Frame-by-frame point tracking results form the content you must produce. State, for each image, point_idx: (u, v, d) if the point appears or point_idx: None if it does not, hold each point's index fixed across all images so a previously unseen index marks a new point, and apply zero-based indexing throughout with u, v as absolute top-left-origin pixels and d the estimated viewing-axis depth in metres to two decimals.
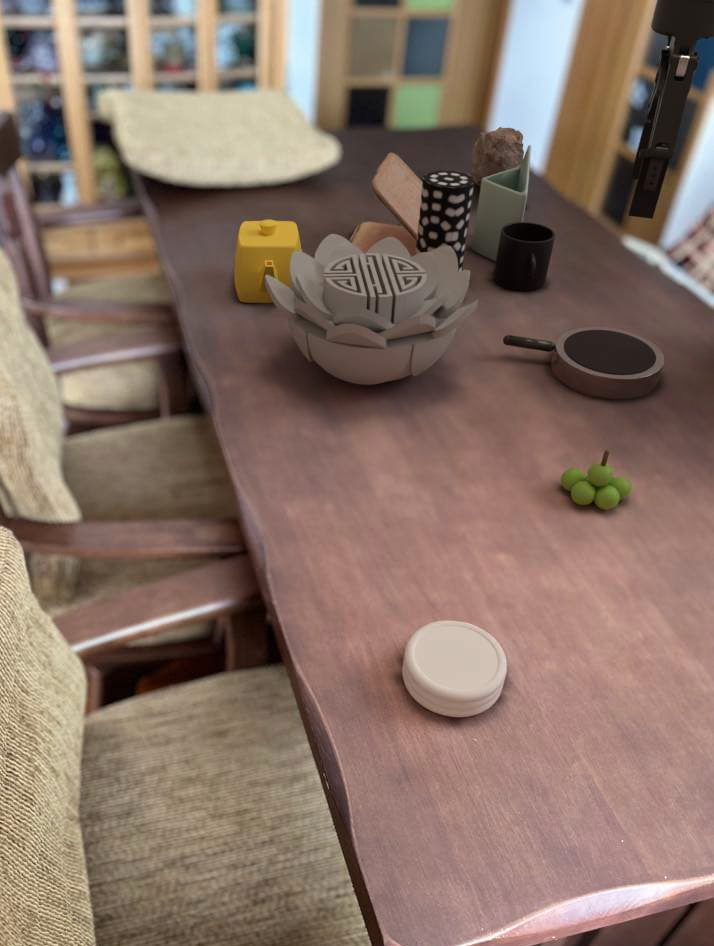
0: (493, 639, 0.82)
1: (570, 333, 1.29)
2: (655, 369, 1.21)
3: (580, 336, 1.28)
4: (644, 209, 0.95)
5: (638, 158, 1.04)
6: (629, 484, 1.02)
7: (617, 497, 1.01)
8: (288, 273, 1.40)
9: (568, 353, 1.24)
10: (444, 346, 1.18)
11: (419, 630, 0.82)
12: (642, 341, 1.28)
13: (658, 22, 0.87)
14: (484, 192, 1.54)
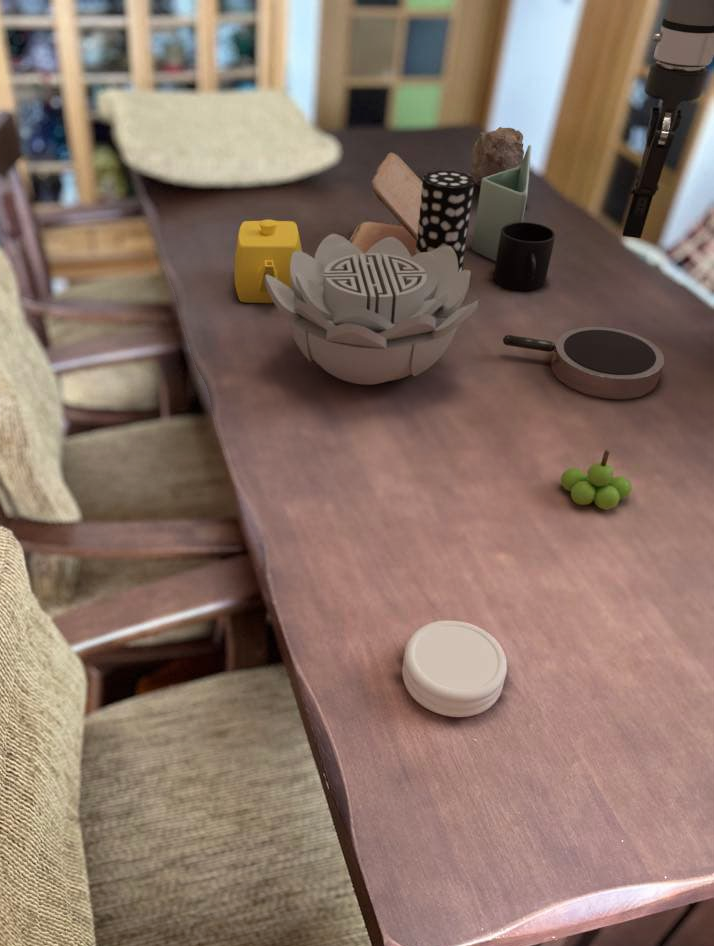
0: (493, 639, 0.82)
1: (570, 333, 1.29)
2: (655, 369, 1.21)
3: (580, 336, 1.28)
4: (634, 231, 1.27)
5: None
6: (629, 484, 1.02)
7: (617, 497, 1.01)
8: (288, 273, 1.40)
9: (568, 353, 1.24)
10: (444, 346, 1.18)
11: (419, 630, 0.82)
12: (642, 341, 1.28)
13: (650, 88, 1.13)
14: (484, 192, 1.54)
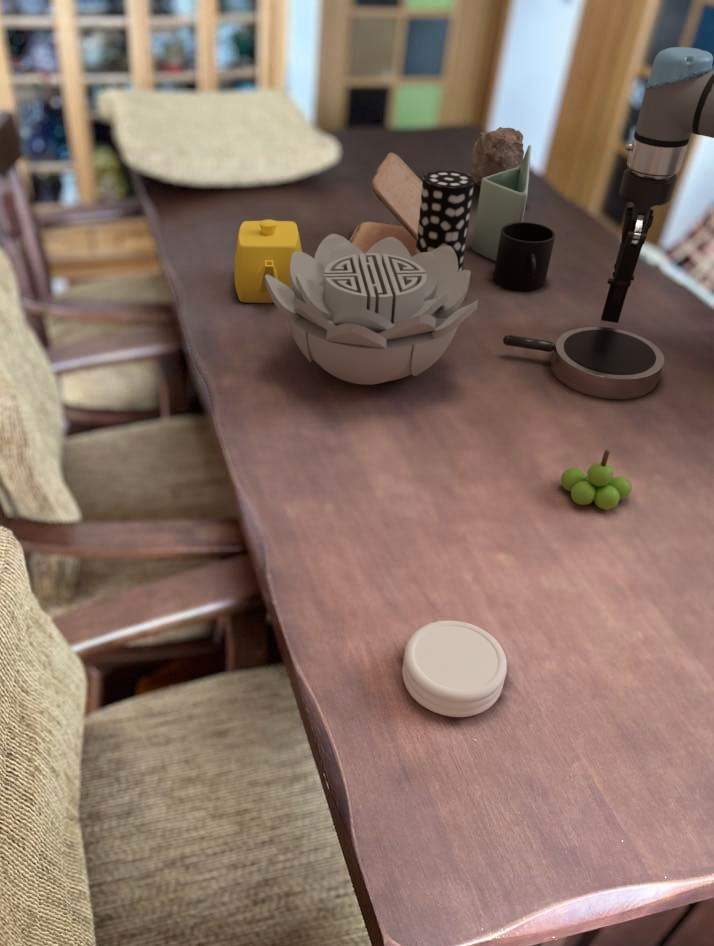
0: (493, 639, 0.82)
1: (570, 333, 1.29)
2: (655, 369, 1.21)
3: (580, 336, 1.28)
4: (612, 316, 1.35)
5: None
6: (629, 484, 1.02)
7: (617, 497, 1.01)
8: (288, 273, 1.40)
9: (568, 353, 1.24)
10: (444, 346, 1.18)
11: (419, 630, 0.82)
12: (642, 341, 1.28)
13: (623, 192, 1.21)
14: (484, 192, 1.54)
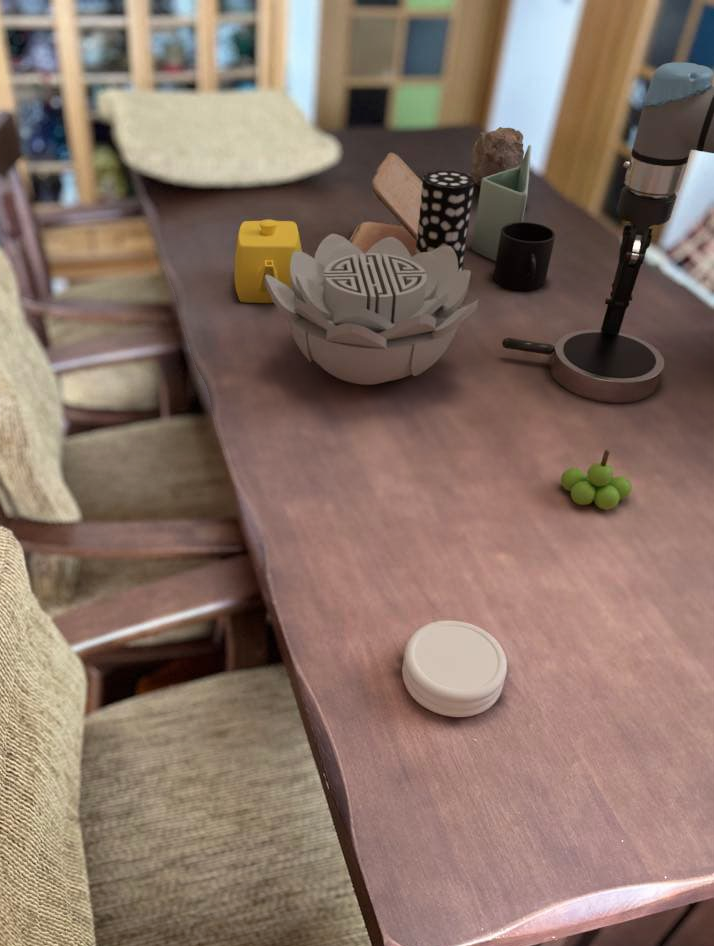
0: (493, 639, 0.82)
1: (569, 336, 1.29)
2: (655, 372, 1.21)
3: (579, 339, 1.28)
4: None
5: None
6: (629, 484, 1.02)
7: (617, 497, 1.01)
8: (288, 273, 1.40)
9: (567, 356, 1.24)
10: (444, 346, 1.18)
11: (419, 630, 0.82)
12: (642, 344, 1.27)
13: (621, 211, 1.17)
14: (484, 192, 1.54)
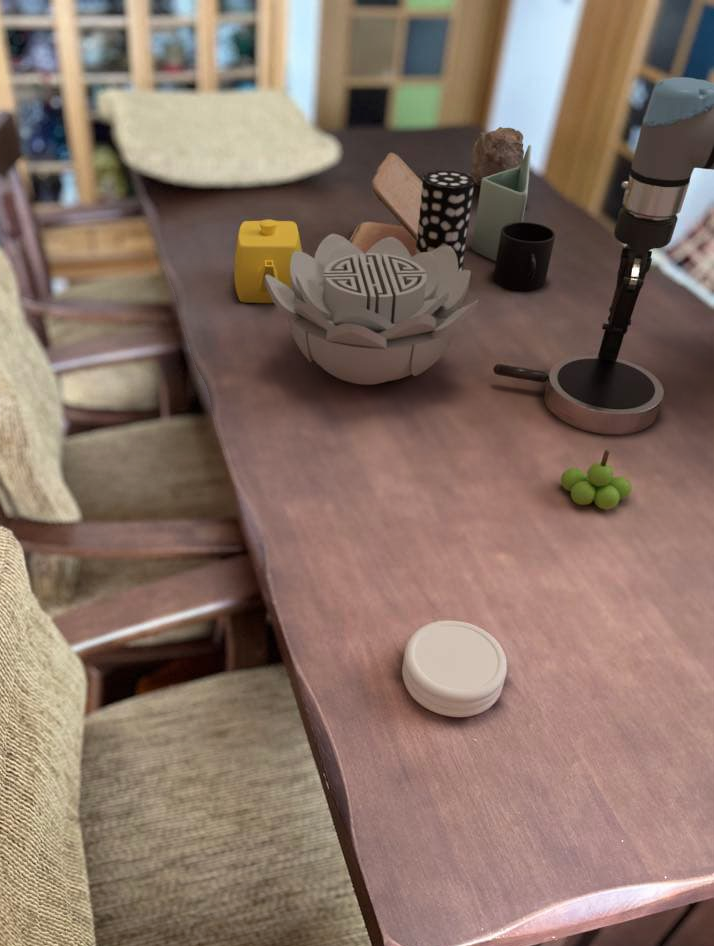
0: (493, 639, 0.82)
1: (564, 362, 1.22)
2: (654, 402, 1.14)
3: (575, 366, 1.21)
4: None
5: None
6: (629, 484, 1.02)
7: (617, 497, 1.01)
8: (288, 273, 1.40)
9: (562, 385, 1.18)
10: (444, 346, 1.18)
11: (419, 630, 0.82)
12: (641, 371, 1.21)
13: (619, 234, 1.11)
14: (484, 192, 1.54)
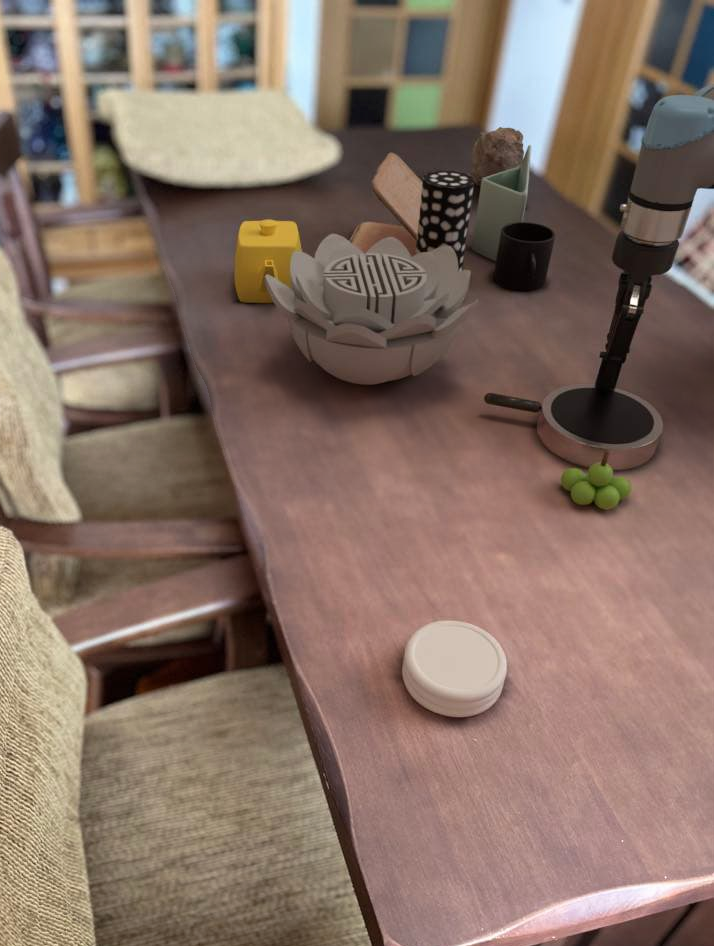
0: (493, 639, 0.82)
1: (559, 391, 1.16)
2: (652, 437, 1.08)
3: (570, 395, 1.15)
4: None
5: None
6: (629, 484, 1.02)
7: (617, 497, 1.01)
8: (288, 273, 1.40)
9: (555, 416, 1.11)
10: (444, 346, 1.18)
11: (419, 630, 0.82)
12: (640, 402, 1.14)
13: (617, 259, 1.05)
14: (484, 192, 1.54)
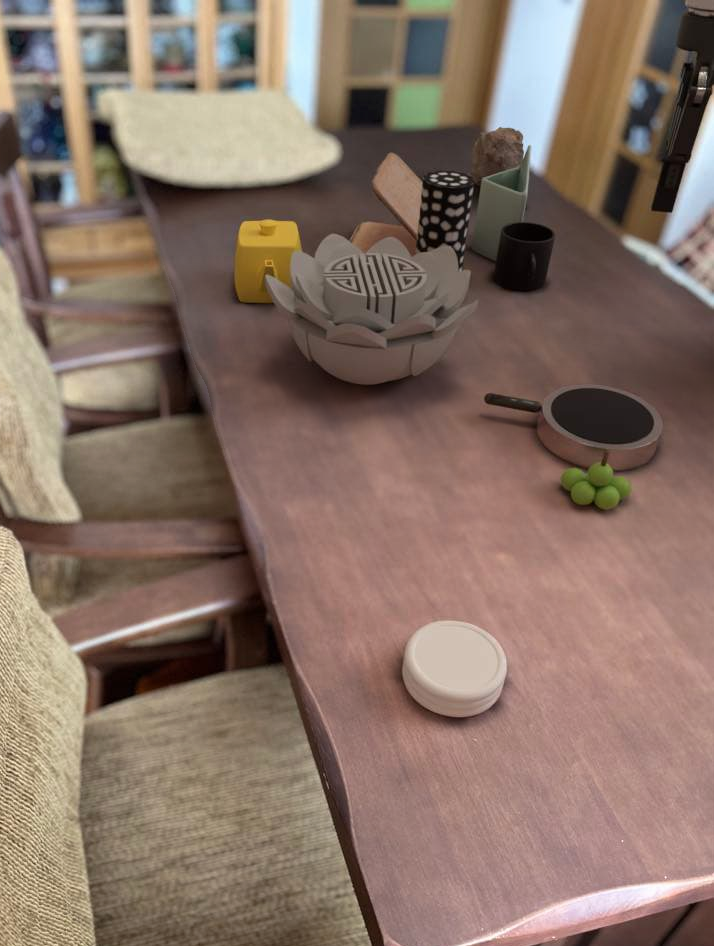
0: (493, 639, 0.82)
1: (559, 392, 1.16)
2: (652, 437, 1.08)
3: (570, 396, 1.15)
4: (665, 205, 1.13)
5: None
6: (629, 484, 1.02)
7: (617, 497, 1.01)
8: (288, 273, 1.40)
9: (555, 417, 1.11)
10: (444, 346, 1.18)
11: (419, 630, 0.82)
12: (640, 403, 1.14)
13: (682, 40, 1.00)
14: (484, 192, 1.54)
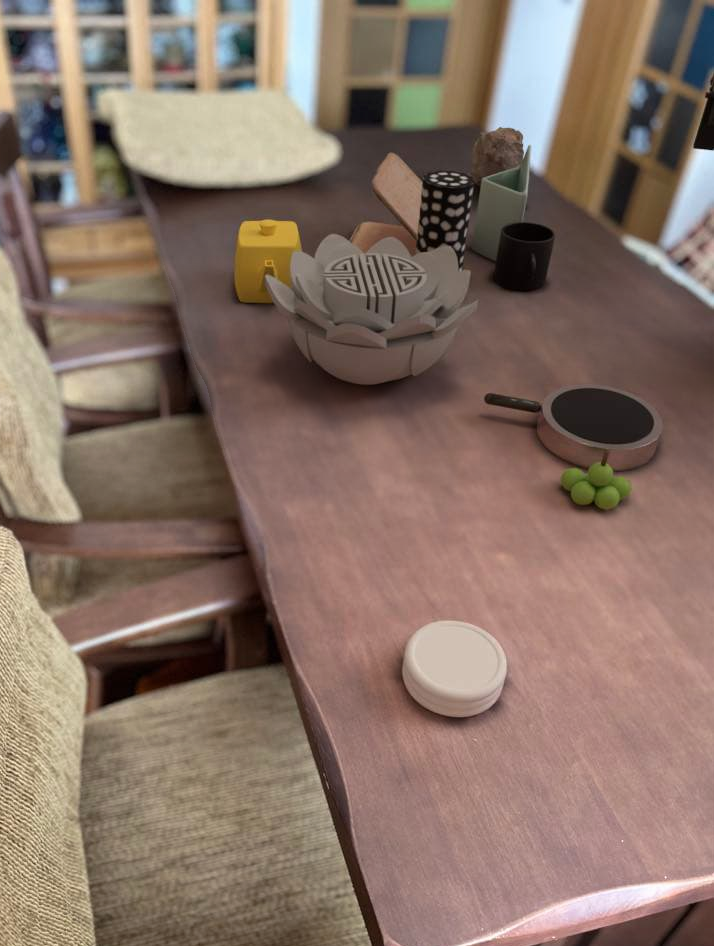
0: (493, 639, 0.82)
1: (559, 392, 1.16)
2: (652, 437, 1.08)
3: (570, 396, 1.15)
4: (707, 142, 1.15)
5: None
6: (629, 484, 1.02)
7: (617, 497, 1.01)
8: (288, 273, 1.40)
9: (555, 417, 1.11)
10: (444, 346, 1.18)
11: (419, 630, 0.82)
12: (640, 403, 1.14)
13: None
14: (484, 192, 1.54)
